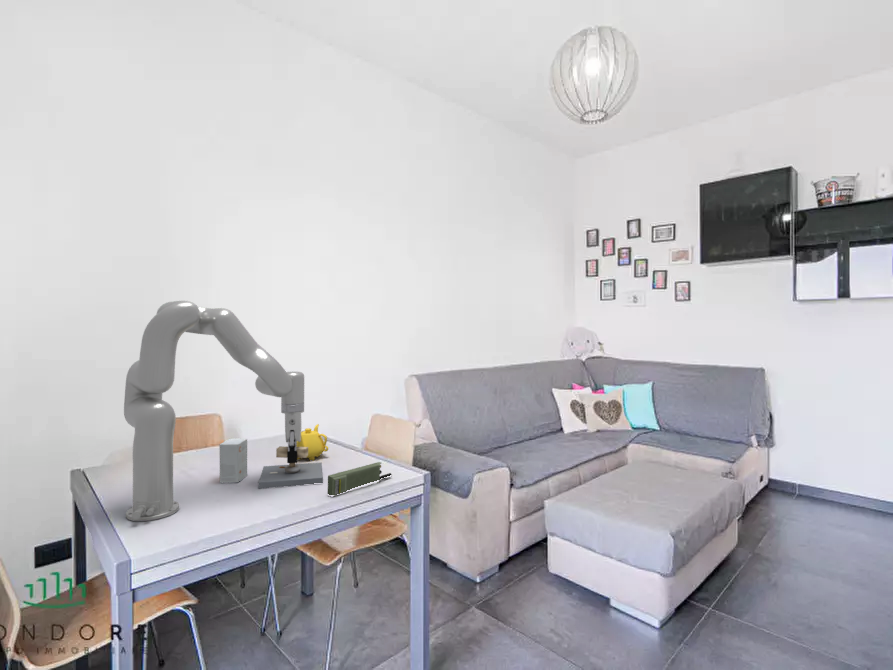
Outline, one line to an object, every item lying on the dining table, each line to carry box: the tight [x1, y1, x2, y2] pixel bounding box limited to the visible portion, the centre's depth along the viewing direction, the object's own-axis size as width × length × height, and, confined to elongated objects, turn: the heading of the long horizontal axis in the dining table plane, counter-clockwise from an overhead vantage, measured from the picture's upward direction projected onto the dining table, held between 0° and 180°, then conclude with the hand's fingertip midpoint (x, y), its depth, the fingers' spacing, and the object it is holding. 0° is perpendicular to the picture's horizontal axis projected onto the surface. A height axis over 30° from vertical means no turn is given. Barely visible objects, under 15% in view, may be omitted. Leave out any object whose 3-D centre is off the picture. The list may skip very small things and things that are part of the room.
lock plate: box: [257, 462, 324, 489], centre depth 162 cm, size 18×20×2 cm
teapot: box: [297, 423, 329, 461], centre depth 186 cm, size 20×15×12 cm
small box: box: [219, 438, 248, 484], centre depth 159 cm, size 8×6×13 cm
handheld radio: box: [327, 461, 393, 496], centre depth 154 cm, size 7×3×25 cm
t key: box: [275, 445, 308, 473], centre depth 162 cm, size 10×5×8 cm, turn 89°
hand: (292, 460), depth 162 cm, fingers open, 4 cm apart
